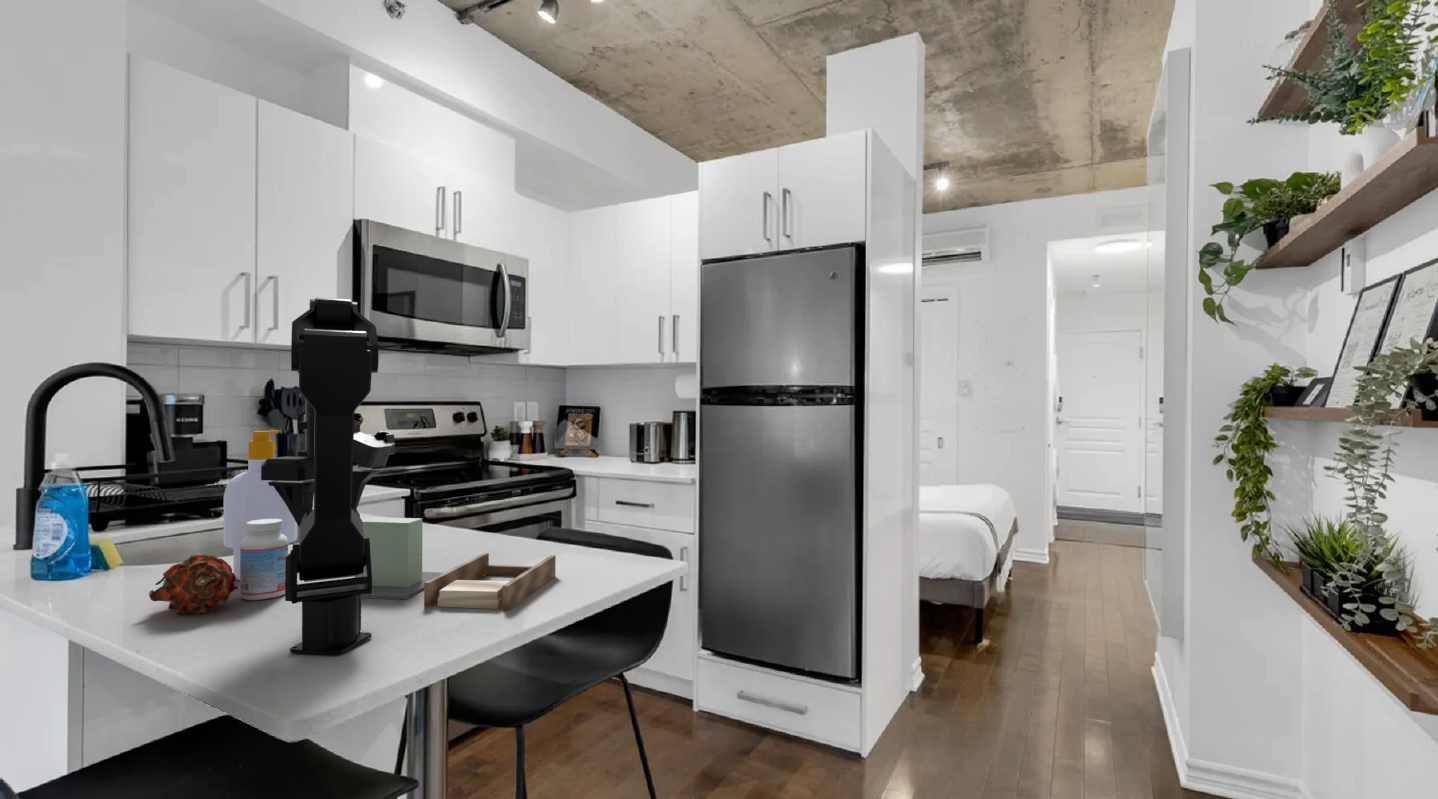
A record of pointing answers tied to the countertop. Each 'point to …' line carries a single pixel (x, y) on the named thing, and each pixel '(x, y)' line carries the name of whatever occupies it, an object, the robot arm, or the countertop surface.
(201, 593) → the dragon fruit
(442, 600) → the offcut stack
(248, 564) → the pill bottle
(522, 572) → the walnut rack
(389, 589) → the charcoal mat
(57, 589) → the countertop surface
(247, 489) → the soap bottle
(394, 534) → the upright mint green block
